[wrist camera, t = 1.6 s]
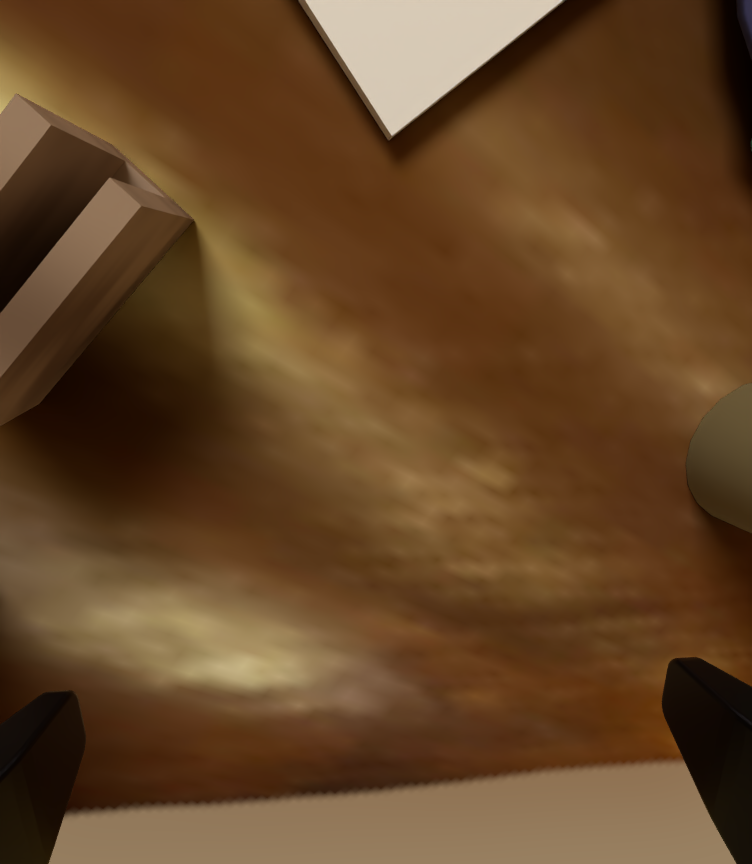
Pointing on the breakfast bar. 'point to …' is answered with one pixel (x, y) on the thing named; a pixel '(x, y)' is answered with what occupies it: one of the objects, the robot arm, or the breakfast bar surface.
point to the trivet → (417, 46)
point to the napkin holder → (67, 245)
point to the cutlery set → (745, 24)
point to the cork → (724, 460)
